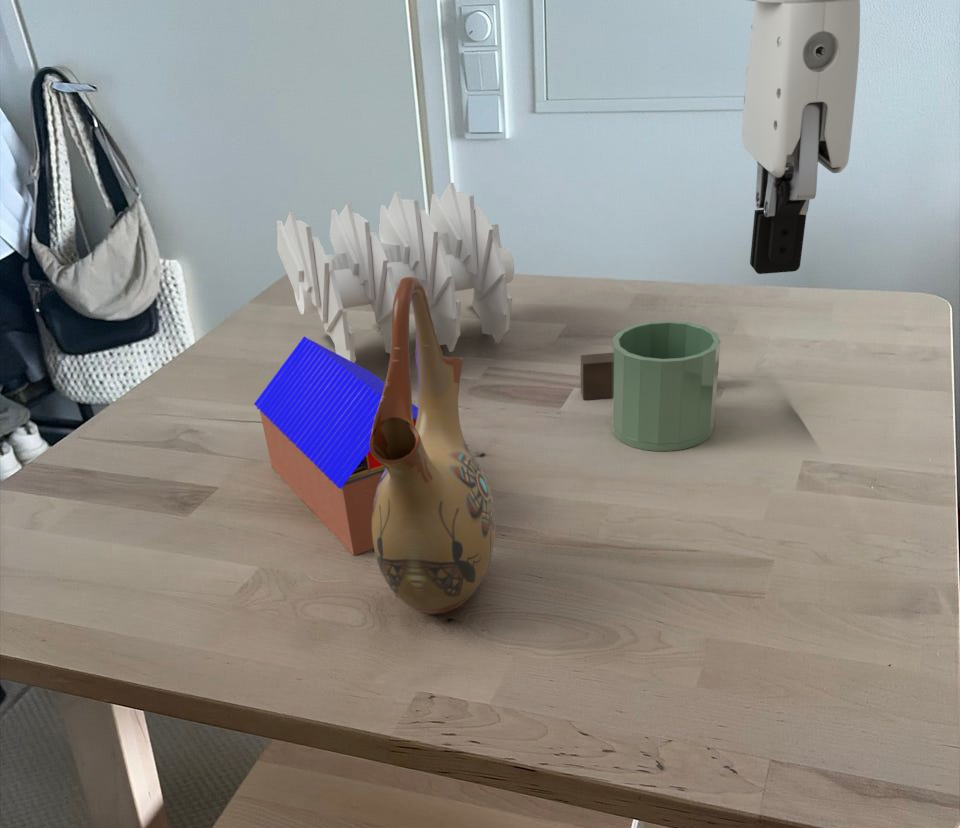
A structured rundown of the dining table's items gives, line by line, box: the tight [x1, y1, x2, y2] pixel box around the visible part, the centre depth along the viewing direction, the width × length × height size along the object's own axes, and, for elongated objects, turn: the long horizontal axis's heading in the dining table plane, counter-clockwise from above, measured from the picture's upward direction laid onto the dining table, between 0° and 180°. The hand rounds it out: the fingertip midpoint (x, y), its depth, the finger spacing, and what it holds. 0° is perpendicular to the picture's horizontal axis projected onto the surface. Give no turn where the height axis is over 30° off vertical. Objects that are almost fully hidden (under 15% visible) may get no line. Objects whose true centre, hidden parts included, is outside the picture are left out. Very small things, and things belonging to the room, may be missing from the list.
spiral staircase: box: [276, 182, 515, 364], centre depth 115 cm, size 18×18×25 cm
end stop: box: [580, 352, 612, 401], centre depth 107 cm, size 14×2×4 cm, turn 92°
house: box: [253, 336, 469, 556], centre depth 92 cm, size 12×20×12 cm, turn 30°
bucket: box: [610, 320, 722, 452], centre depth 99 cm, size 10×10×9 cm
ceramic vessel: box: [369, 277, 496, 615], centre depth 74 cm, size 16×9×25 cm, turn 169°
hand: (774, 268), depth 74 cm, fingers closed
